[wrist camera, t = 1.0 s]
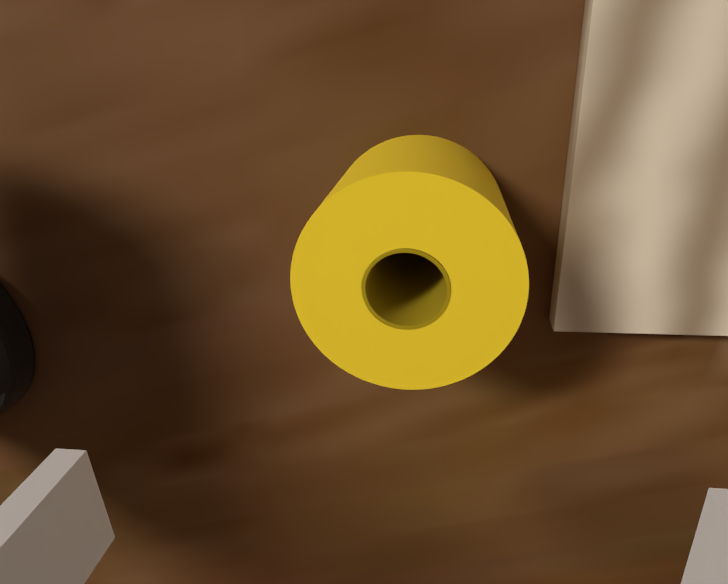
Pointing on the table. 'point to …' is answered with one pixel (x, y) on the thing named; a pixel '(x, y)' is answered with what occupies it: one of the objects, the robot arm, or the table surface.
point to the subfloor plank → (647, 173)
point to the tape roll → (411, 267)
